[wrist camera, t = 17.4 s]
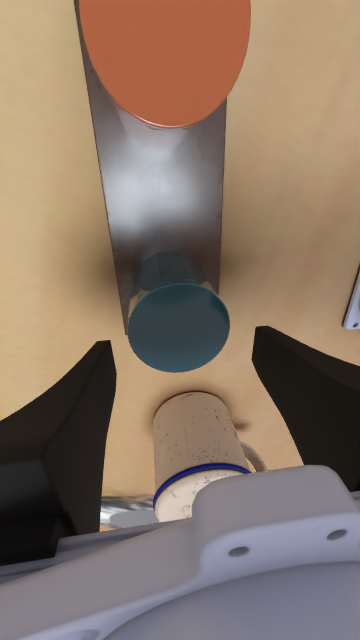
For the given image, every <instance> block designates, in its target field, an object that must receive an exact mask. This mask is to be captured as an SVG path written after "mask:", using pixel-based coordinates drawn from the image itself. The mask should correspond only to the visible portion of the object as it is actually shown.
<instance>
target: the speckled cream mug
mask: <svg viewBox="0 0 360 640" xmlns="http://www.w3.org/2000/svg"><path fill="white" fill-rule="evenodd" d="M153 438H154V464H155V491H156V493H155V496H154V499H153V508H154V511H155V514H156V516H157V518H158V520H159V521H160V522H166V521H172V520H179V519H185V518H190V517H192V503H193V501H194V499H195V496H196V494H197V493H198V491H199V490H201V489H202V488H203V487H205V486H206V485H208V484H209V483H210V482H212V481H215V480H218V479H222V478H225V477H228V476H235V475H242V474H248V473H251V471H250V468H249V465H248V463H247V460H246V458H247V459H248V460H249V461H250V462H251V463H252V465H253V466H254V468H255V469H256V471H257V472H262V471H267V468H266V466H265V464H264V462H263V461H262V459H261V458H260V456H259V455H258V454H257V453H256V452H255V451H254V450H253V449H252V448H251V447H250V446H248V445H247V444H245V443H243V442H240V441H239V439H238V436H237V433H236V430H235V428H234V425H233V422H232V420H231V417H230V414H229V412H228V409H227V407H226V405H225V404H224V403H223V402H222V401H221V400H220V399H219V398H217V397H215V396H213V395H211V394H207V393H202V392H190V393H185V394H181V395H178V396H176V397H173V398H172V399H170V400H168V401H167V402H165V403H164V404H163V405H162V406H161V407H160V408H159V409H158V411H157V413H156V415H155V417H154V420H153Z"/></svg>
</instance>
